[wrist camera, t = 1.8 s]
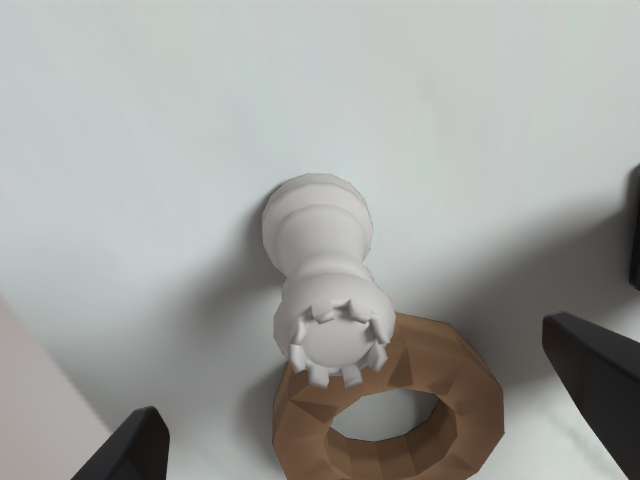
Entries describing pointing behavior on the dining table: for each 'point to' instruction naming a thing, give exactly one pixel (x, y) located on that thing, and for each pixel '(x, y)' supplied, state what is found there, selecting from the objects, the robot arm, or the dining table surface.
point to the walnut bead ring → (418, 445)
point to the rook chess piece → (326, 280)
